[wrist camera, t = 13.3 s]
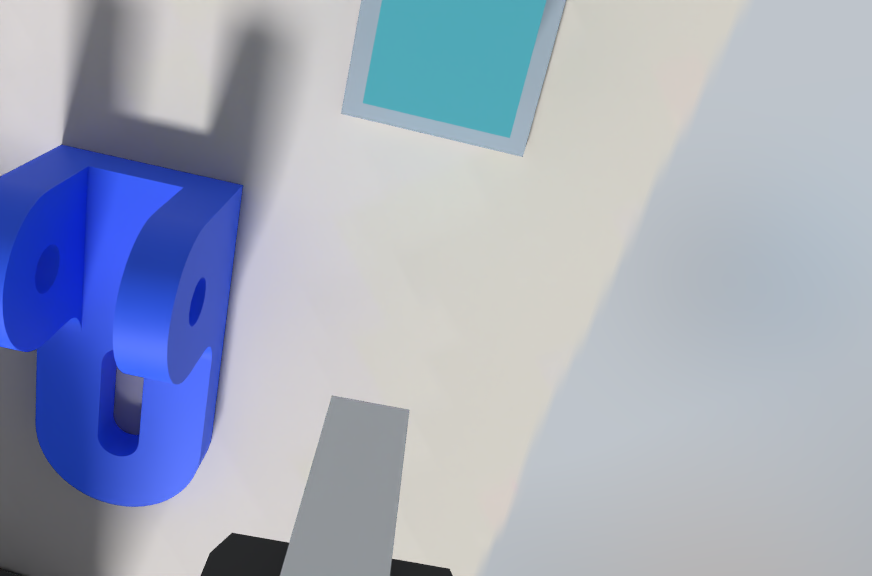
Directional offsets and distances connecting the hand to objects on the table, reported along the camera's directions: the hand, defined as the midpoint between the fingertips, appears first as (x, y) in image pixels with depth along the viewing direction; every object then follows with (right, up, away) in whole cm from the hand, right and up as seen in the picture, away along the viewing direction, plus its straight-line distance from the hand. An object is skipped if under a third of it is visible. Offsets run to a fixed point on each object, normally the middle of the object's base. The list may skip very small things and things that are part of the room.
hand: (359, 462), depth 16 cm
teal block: (+2, +14, +18) cm, 23 cm away
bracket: (-13, +1, +25) cm, 29 cm away
